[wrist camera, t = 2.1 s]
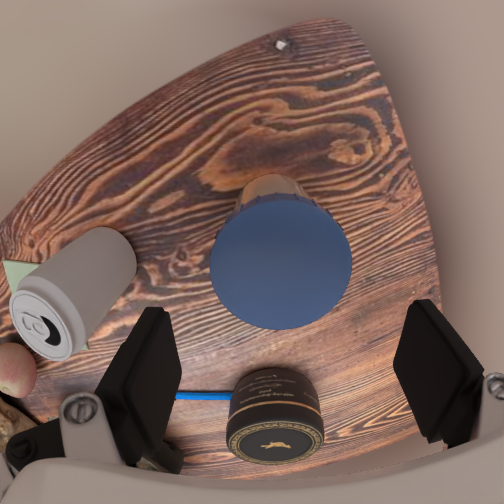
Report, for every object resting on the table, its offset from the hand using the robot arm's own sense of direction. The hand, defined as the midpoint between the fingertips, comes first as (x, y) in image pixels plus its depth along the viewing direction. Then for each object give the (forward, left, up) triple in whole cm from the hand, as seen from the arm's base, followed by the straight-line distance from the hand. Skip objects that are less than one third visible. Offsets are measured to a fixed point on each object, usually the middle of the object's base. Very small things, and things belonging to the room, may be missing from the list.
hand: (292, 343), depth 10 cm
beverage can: (+5, -15, -16) cm, 22 cm away
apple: (+22, -34, -16) cm, 43 cm away
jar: (+20, +2, -16) cm, 26 cm away
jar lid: (0, 0, -5) cm, 5 cm away
